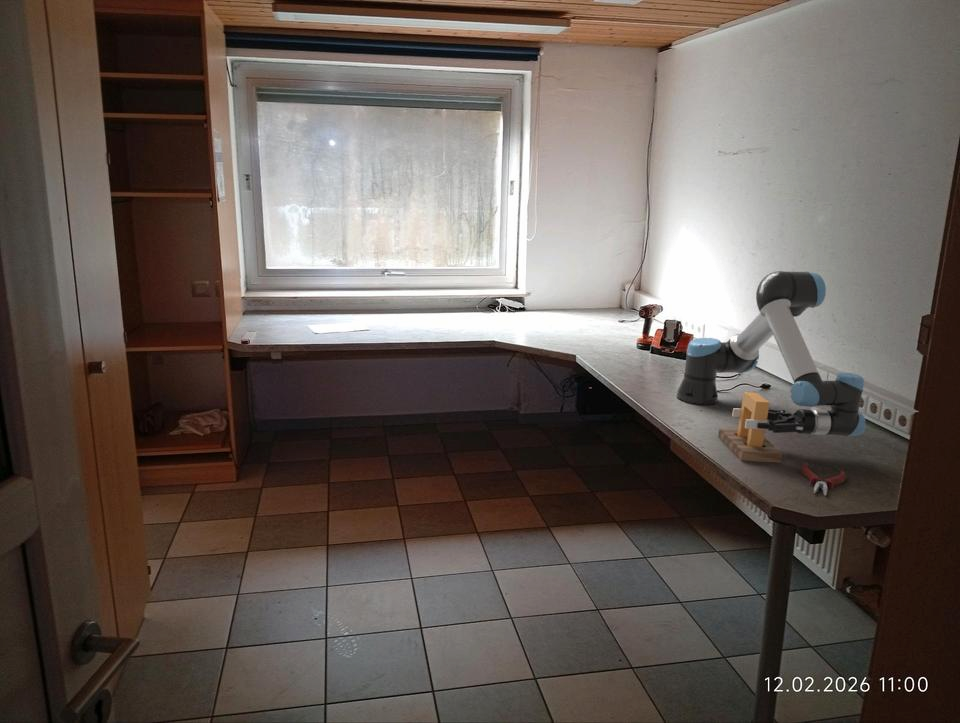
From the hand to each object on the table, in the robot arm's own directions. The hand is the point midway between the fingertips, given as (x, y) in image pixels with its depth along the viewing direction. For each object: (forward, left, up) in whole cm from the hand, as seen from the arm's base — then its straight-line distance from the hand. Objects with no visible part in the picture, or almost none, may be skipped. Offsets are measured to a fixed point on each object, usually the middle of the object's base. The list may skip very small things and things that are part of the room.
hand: (739, 418), depth 211 cm
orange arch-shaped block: (0, +4, -9) cm, 10 cm away
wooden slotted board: (0, +4, -10) cm, 11 cm away
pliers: (+23, +15, -11) cm, 29 cm away
